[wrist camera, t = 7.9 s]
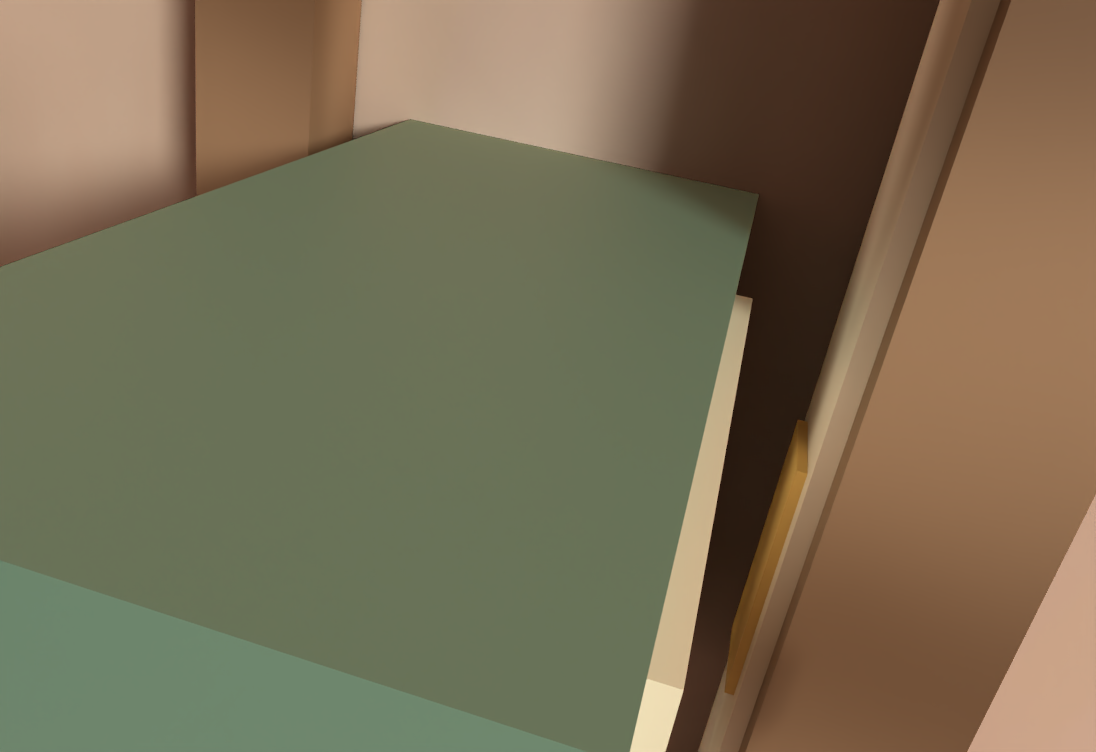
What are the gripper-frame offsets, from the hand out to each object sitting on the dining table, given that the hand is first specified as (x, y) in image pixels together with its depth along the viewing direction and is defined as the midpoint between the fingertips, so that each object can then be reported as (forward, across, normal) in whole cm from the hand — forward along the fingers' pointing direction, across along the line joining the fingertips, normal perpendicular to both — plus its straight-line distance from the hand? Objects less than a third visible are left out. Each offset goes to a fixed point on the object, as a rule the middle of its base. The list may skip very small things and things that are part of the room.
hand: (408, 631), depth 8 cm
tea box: (+5, 0, 0) cm, 5 cm away
